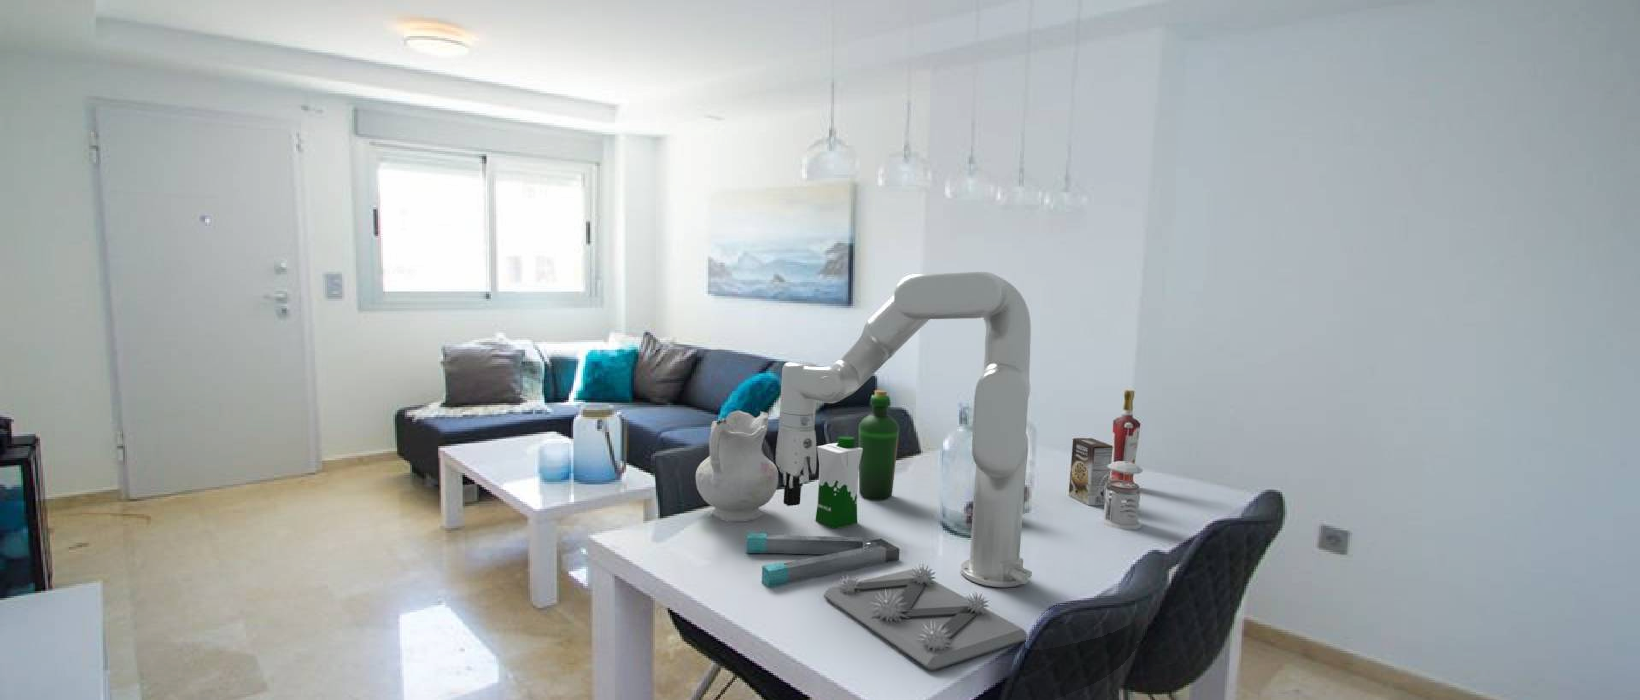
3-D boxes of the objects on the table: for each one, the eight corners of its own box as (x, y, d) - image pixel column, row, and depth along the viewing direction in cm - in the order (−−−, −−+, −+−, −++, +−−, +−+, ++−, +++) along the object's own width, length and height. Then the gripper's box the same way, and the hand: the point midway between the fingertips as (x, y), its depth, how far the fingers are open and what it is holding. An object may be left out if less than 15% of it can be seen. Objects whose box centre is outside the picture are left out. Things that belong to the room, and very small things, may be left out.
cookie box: (1067, 495, 208) (1071, 437, 207) (1087, 494, 210) (1091, 437, 209) (1088, 505, 200) (1093, 445, 198) (1108, 504, 202) (1113, 444, 200)
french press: (1150, 527, 184) (1160, 426, 182) (1113, 531, 180) (1122, 427, 177) (1121, 514, 193) (1129, 417, 191) (1084, 518, 189) (1092, 419, 186)
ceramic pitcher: (760, 538, 168) (773, 429, 166) (676, 524, 171) (687, 416, 168) (780, 509, 190) (792, 412, 187) (705, 496, 193) (716, 400, 190)
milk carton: (862, 523, 178) (867, 439, 176) (834, 531, 172) (838, 444, 170) (837, 513, 185) (841, 432, 183) (809, 520, 179) (812, 437, 177)
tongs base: (880, 549, 162) (881, 534, 162) (899, 559, 157) (900, 544, 156) (752, 574, 146) (753, 558, 146) (768, 587, 140) (769, 570, 140)
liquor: (1115, 481, 225) (1123, 387, 223) (1139, 487, 220) (1148, 391, 217) (1102, 484, 221) (1110, 389, 218) (1126, 491, 215) (1135, 393, 212)
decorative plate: (1030, 644, 124) (1034, 602, 123) (930, 678, 112) (933, 632, 112) (912, 578, 149) (914, 542, 148) (820, 599, 137) (822, 561, 137)
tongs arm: (874, 551, 160) (875, 536, 160) (876, 559, 156) (877, 544, 155) (747, 547, 159) (747, 532, 159) (745, 555, 155) (746, 540, 154)
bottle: (902, 495, 202) (908, 391, 199) (884, 504, 193) (889, 396, 190) (867, 487, 208) (872, 386, 205) (847, 496, 199) (852, 390, 196)
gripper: (831, 426, 157) (825, 512, 159) (794, 412, 169) (789, 492, 171) (799, 428, 153) (794, 517, 155) (764, 413, 165) (759, 495, 167)
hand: (791, 503), depth 163 cm, fingers closed
